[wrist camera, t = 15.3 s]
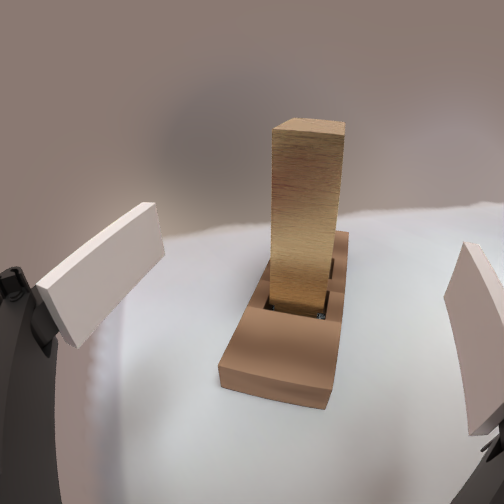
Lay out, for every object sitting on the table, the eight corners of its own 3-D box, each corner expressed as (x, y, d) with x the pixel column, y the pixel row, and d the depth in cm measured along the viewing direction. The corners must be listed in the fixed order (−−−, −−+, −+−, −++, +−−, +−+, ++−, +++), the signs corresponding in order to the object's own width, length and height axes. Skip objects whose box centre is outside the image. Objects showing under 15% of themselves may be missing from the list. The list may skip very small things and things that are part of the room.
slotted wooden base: (285, 243, 35) (286, 223, 34) (345, 251, 33) (348, 232, 32) (221, 386, 19) (217, 365, 17) (324, 409, 17) (332, 389, 16)
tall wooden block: (287, 277, 29) (293, 117, 21) (327, 283, 28) (345, 122, 20) (268, 327, 24) (272, 129, 16) (318, 336, 22) (344, 135, 15)
